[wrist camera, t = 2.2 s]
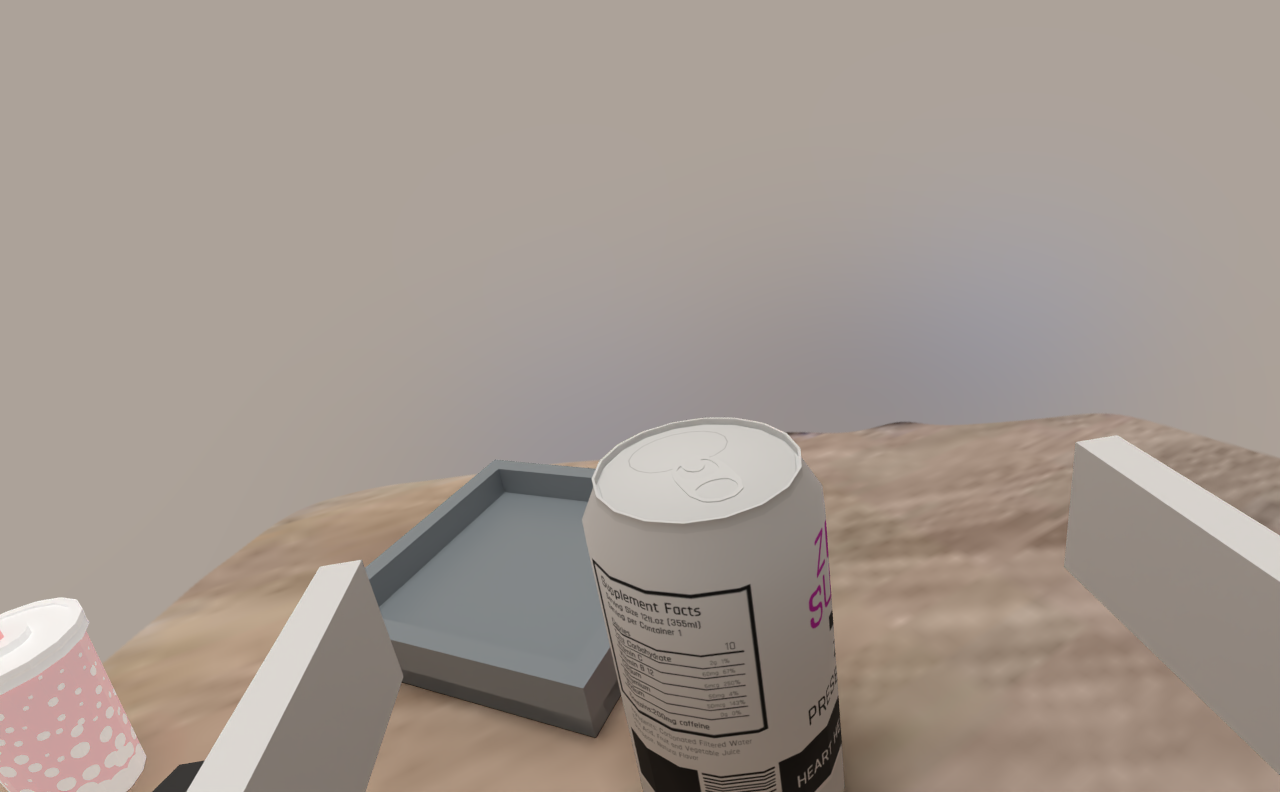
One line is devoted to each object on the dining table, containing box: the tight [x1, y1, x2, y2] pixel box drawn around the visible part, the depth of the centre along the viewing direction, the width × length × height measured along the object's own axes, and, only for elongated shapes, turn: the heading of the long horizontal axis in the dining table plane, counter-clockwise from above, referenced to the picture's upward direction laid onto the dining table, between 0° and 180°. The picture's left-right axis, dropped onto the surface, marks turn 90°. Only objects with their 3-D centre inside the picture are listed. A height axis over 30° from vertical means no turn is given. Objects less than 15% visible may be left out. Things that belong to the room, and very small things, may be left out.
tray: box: [365, 460, 621, 738], centre depth 43 cm, size 18×18×3 cm
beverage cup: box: [0, 597, 146, 792], centre depth 32 cm, size 6×6×14 cm
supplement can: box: [582, 418, 845, 792], centre depth 27 cm, size 8×8×15 cm
